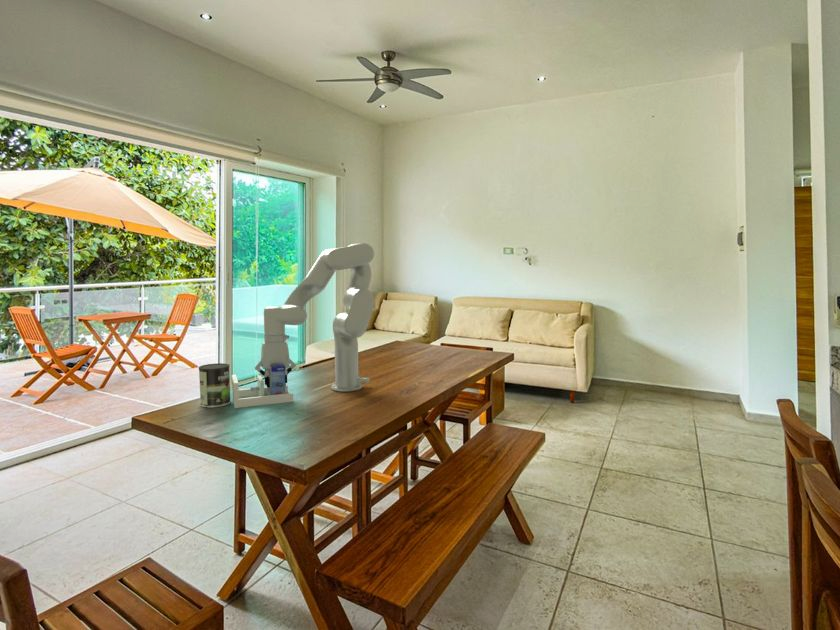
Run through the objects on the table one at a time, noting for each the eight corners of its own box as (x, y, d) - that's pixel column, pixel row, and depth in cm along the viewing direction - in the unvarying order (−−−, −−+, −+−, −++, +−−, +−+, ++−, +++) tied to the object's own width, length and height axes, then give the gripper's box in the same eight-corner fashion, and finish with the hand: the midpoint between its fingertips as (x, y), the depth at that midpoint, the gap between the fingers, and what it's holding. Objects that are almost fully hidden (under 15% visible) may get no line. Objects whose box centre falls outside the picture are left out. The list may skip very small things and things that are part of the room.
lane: (287, 392, 185) (286, 370, 184) (293, 401, 172) (292, 377, 171) (232, 397, 176) (231, 374, 176) (234, 408, 163) (233, 383, 163)
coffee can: (236, 400, 173) (235, 363, 171) (219, 408, 163) (217, 369, 161) (212, 399, 175) (210, 362, 173) (193, 406, 165) (192, 368, 163)
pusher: (261, 395, 179) (260, 375, 179) (264, 402, 169) (263, 381, 168) (249, 396, 178) (249, 376, 177) (252, 404, 167) (251, 382, 167)
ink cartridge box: (286, 397, 173) (285, 359, 172) (271, 399, 171) (270, 360, 169) (281, 391, 182) (280, 355, 180) (266, 392, 179) (265, 356, 178)
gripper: (296, 336, 181) (297, 381, 183) (250, 338, 174) (251, 385, 176) (299, 339, 174) (300, 385, 176) (251, 341, 167) (253, 390, 169)
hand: (276, 385), depth 176 cm, fingers closed on ink cartridge box, 5 cm apart
